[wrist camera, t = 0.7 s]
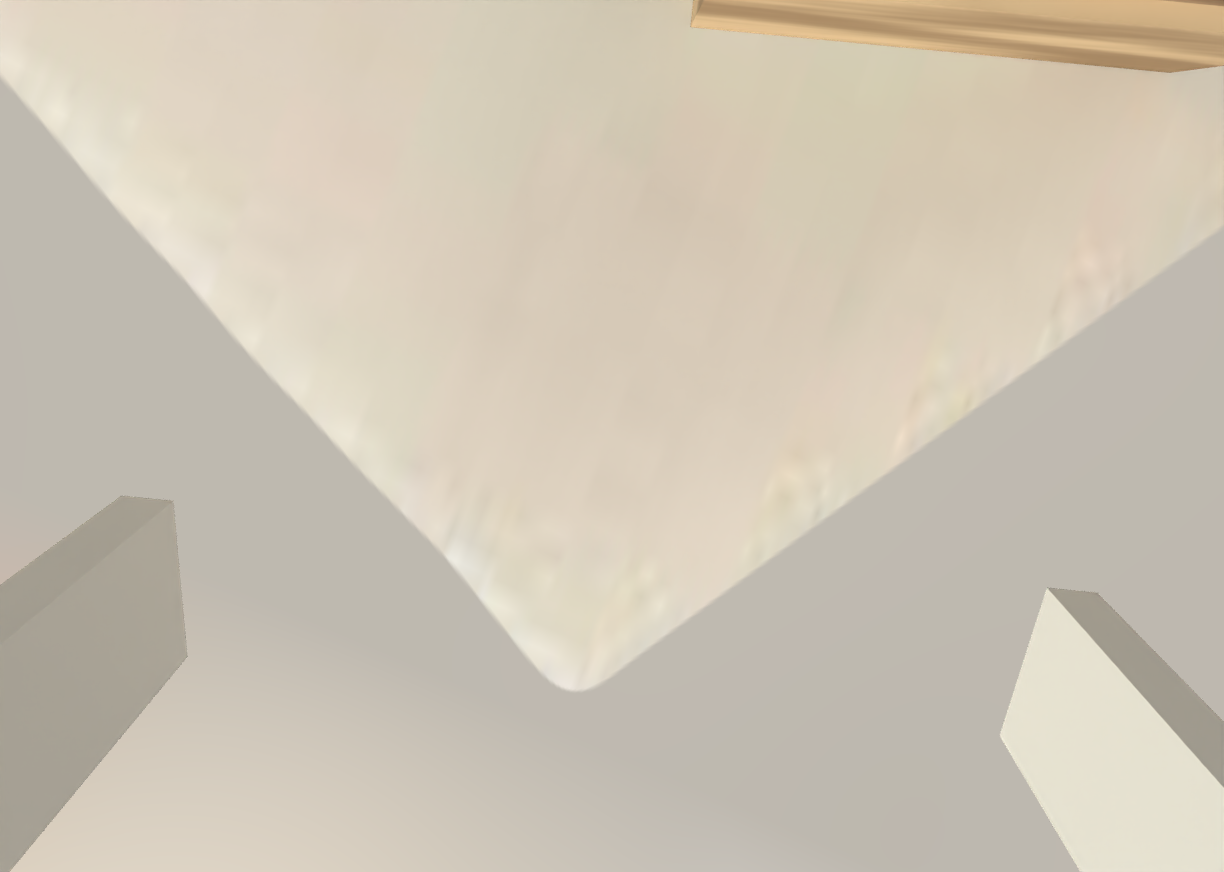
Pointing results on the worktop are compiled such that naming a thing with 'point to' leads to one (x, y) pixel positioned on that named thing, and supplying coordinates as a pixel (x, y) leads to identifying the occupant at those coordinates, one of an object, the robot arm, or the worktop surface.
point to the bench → (998, 27)
